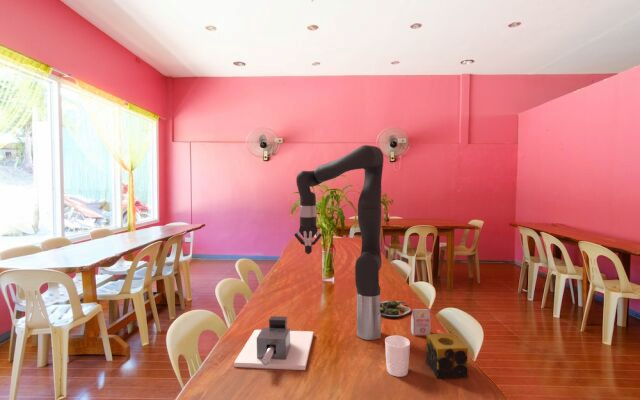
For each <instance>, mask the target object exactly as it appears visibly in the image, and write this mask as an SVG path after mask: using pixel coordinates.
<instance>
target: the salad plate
mask: <svg viewBox="0 0 640 400" xmlns="http://www.w3.org/2000/svg"><path fill="white" fill-rule="evenodd" d="M405 303H406V302H405V301H399V300H397V301H396V300H384V301H380V314H381V318H384V319H385V318H386V319H390V320H392V319H399V318H402V317H404V316H407V315H408V314H409V313H411V312H412V309H411V308H410V307H409V306H405V305H404V304H405ZM401 311H403V313H401Z"/></svg>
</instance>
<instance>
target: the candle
mask: <svg viewBox="0 0 640 400" xmlns="http://www.w3.org/2000/svg"><path fill="white" fill-rule="evenodd" d="M425 337H426V338H425V339H426V340H425V341H426V351H425V353H426V354H425V357H426V361H425V362H426V364H427V365H428V367H429V368H430V370H431V372H432V373H433V374H434V377H435V379H437V380H438V379H440V380H441V379H445V380H446V379H447V380H448V379H449V380H450V379H465V378H466V379H467V378H468V377H469V374H468V372H469V367H468V360H469V358H468V357H469V356H468V351H469V346H467V345H466V344H465V343H464V342H463V341H462V340H461V339H460V338H459V336H458V335H457V334H456V333H455V332H450V333H449V332H448V333H430V334H427V335H426V336H425Z"/></svg>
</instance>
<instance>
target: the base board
mask: <svg viewBox="0 0 640 400" xmlns="http://www.w3.org/2000/svg"><path fill="white" fill-rule="evenodd" d="M261 330H262V329H254V331H253V332H252V334H251V335H250V337H248V339H247V342H246V343H245V345H244V346H243V348H242V349H241V351H240V353H239V354H238V356H237V357H236V358H235V360H234V363H233V367H234V368H251V369H252V368H253V369H254V368H255V369H275V370H293V371H295V370H296V371H297V370H299V371H306V368H307V364H308V359H309V356H310V351H311V347H312V343H313V339H314V331H308V330H307V331H304V330H302V331H301V330H290V350H289V352H288V355H287V358H286V360H280V359H270V362H269V364H268V365H264V364H263V363H262V359H257V337H258V335H259V333H260V332H261Z"/></svg>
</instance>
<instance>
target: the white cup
mask: <svg viewBox="0 0 640 400" xmlns="http://www.w3.org/2000/svg"><path fill="white" fill-rule="evenodd" d="M384 344H385V345H384V347H385V350H384V351H385V363H386V371H387V373H388V374H389V375H391V376H394V377H398V378H401V377H405V376H407V375H408V372H409V365H410V349H411V347H410V345H411V342H410V340H409V339H408V338H407V337H405V336H403V335H396V334H395V335H389V336H387V337H385V338H384Z"/></svg>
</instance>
